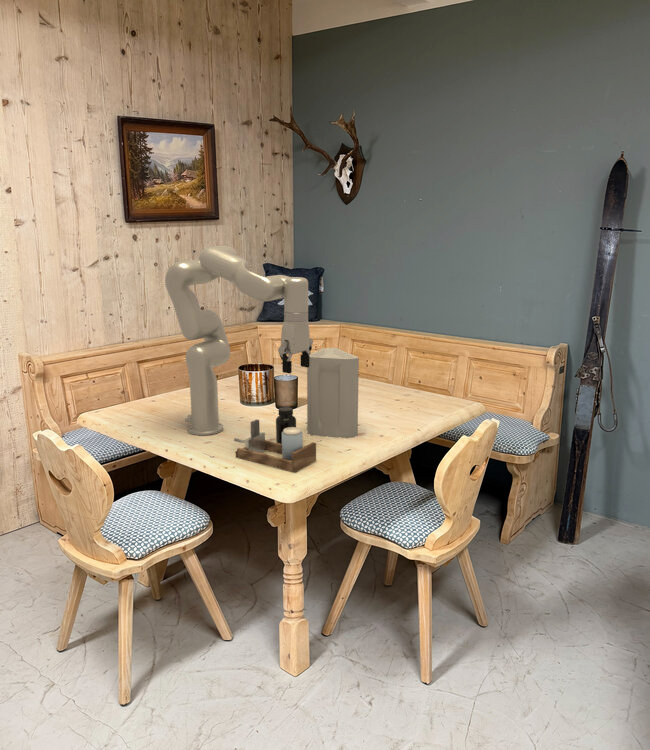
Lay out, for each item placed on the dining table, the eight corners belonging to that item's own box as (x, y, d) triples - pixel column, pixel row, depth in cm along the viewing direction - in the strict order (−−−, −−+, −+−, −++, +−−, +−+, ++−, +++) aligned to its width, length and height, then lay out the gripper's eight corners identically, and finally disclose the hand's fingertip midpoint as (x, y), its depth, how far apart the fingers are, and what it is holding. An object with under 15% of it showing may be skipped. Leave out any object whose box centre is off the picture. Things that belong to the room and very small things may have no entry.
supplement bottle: (296, 439, 228) (296, 405, 225) (296, 446, 221) (296, 411, 219) (276, 439, 228) (276, 406, 225) (275, 446, 221) (275, 412, 218)
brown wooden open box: (235, 457, 212) (235, 439, 210) (258, 446, 221) (257, 429, 219) (295, 472, 199) (294, 453, 198) (316, 460, 209) (316, 442, 207)
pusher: (226, 452, 215) (225, 419, 213) (243, 444, 222) (242, 413, 220) (248, 457, 211) (248, 424, 208) (265, 450, 217) (264, 417, 215)
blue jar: (277, 464, 206) (277, 430, 203) (290, 458, 211) (289, 425, 208) (294, 468, 202) (294, 434, 200) (306, 462, 208) (306, 428, 205)
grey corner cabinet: (297, 426, 242) (297, 351, 235) (334, 420, 248) (334, 347, 241) (319, 442, 225) (320, 361, 218) (358, 436, 231) (359, 357, 225)
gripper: (302, 312, 218) (302, 363, 222) (269, 319, 204) (270, 373, 208) (321, 314, 214) (320, 366, 218) (289, 322, 200) (289, 377, 204)
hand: (296, 369), depth 213 cm, fingers open, 9 cm apart
